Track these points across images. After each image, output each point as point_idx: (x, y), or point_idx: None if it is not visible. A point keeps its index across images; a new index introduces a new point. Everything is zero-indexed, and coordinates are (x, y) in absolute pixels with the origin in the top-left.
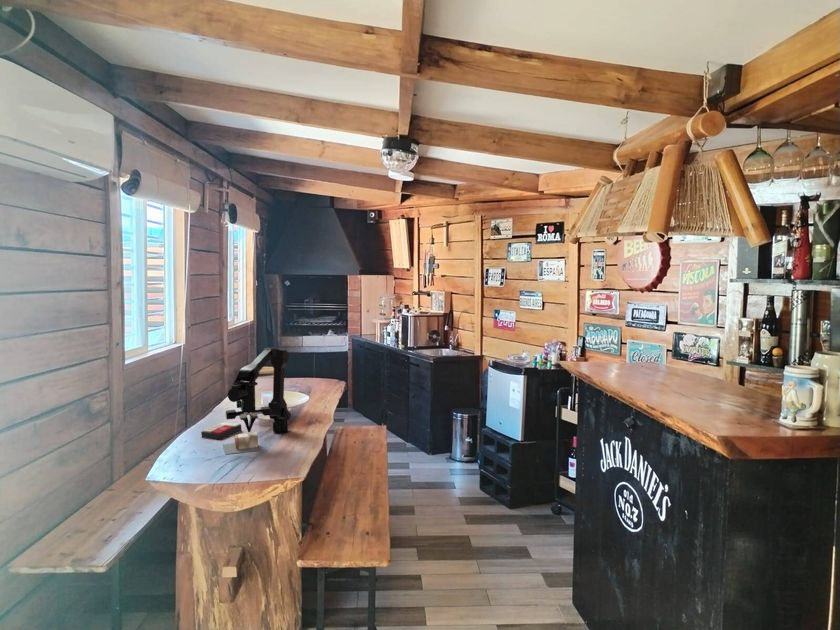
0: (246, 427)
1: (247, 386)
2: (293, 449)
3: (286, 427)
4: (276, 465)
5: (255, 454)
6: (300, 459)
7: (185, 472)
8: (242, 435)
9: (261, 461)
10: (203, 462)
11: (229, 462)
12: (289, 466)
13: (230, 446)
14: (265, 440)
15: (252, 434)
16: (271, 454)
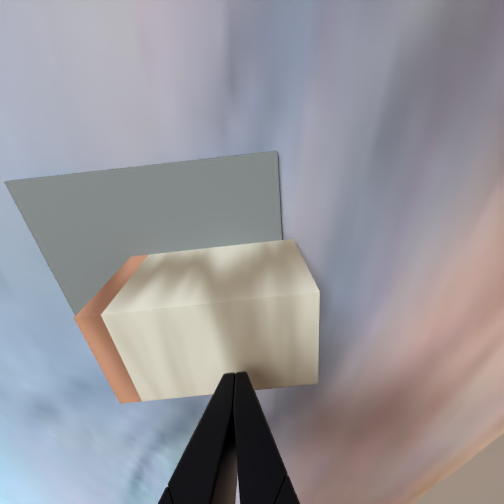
0: (197, 438)
1: None
2: (466, 381)
3: None
4: (332, 491)
5: (270, 400)
6: (430, 469)
7: (11, 490)
8: (169, 353)
9: (287, 462)
10: (33, 433)
11: (157, 450)
12: (369, 501)
13: (95, 256)
14: (383, 152)
15: (272, 348)
16: (343, 413)
